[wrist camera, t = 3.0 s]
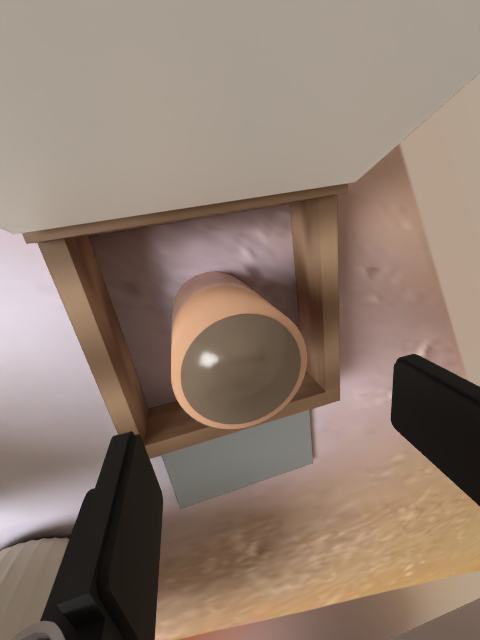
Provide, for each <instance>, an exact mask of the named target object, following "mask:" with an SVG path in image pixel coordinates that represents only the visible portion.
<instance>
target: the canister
mask: <svg viewBox="0 0 480 640" xmlns="http://www.w3.org/2000/svg"><path fill="white" fill-rule="evenodd" d="M68 542H69V539H68V538H56V537H54V538H51V539H46V538H42V539H40V540H30V541H28V542H26V543H18V544H16V545H14V546H12V547H7V548H4V549H3V550H1V551H0V640H11V639H12V638H13V637H14V636H15V635H17V634H18V633H19V632H20V631H22V630H24V629H25V628H27V627H29V626H30V625H32V624H34V623H38V622H40V620H41V617H42V614H43V611H44V609H45V606H46V603H47V600H48V598H49V595H50V592H51V589H52V586H53V584H54V581H55V578H56V575H57V573H58V570H59V567H60V564H61V561H62V559H63V556H64V553H65V550H66V548H67V545H68Z"/></svg>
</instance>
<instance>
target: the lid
mask: <svg viewBox="0 0 480 640" xmlns="http://www.w3.org/2000/svg"><path fill="white" fill-rule="evenodd" d="M479 73H480V0H0V228H2V229H4V230H6V231H8V232H10V233H12V234H19V233H26V232H33V231H39V230H46V229H52V228H59V227H65V226H72V225H78V224H85V223H91V222H98V221H105V220H111V219H118V218H124V217H131V216H137V215H144V214H150V213H157V212H163V211H170V210H176V209H183V208H190V207H196V206H203V205H209V204H216V203H222V202H229V201H235V200H242V199H248V198H255V197H262V196H268V195H275V194H281V193H288V192H294V191H301V190H307V189H314V188H320V187H327V186H333V185H340V184H347V183H353V182H356V181H357V180H358V179H360V178H361V177H362V176H363V175H364V174H365V173H366V172H368V171H369V170H370V169H371V168H372V167H373V166H374V165H376V164H377V163H378V162H379V161H380V160H381V159H382V158H384V157H385V156H386V155H387V154H388V153H389V152H390V151H391V150H393V149H394V148H395V147H396V146H397V145H398V144H399V143H401V142H402V141H403V140H404V139H405V138H406V137H407V136H409V135H410V134H411V133H412V132H413V131H414V130H415V129H416V128H418V127H419V126H420V125H421V124H422V123H423V122H424V121H426V120H427V119H428V118H429V117H430V116H431V115H432V114H434V113H435V112H436V111H437V110H438V109H439V108H440V107H442V106H443V105H444V104H445V103H446V102H447V101H448V100H449V99H451V98H452V97H453V96H454V95H455V94H456V93H458V92H459V91H460V90H461V89H462V88H463V87H464V86H465V85H467V83H469V82H470V81H471V80H472V79H473V78H475V76H477V75H478V74H479Z"/></svg>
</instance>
